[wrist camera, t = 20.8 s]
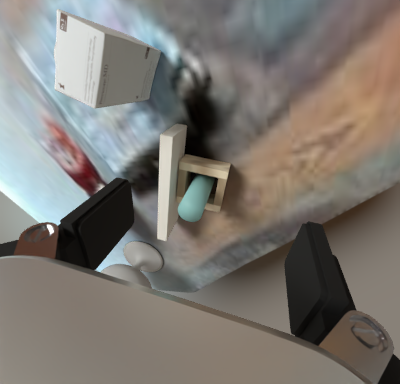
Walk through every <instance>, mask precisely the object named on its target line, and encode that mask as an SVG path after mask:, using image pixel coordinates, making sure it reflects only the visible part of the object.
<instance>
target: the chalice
mask: <svg viewBox="0 0 400 384" xmlns="http://www.w3.org/2000/svg"><path fill="white" fill-rule="evenodd" d="M123 252H124V256H125V258H126V260H127V261H128V262H129V263H130V264H131V265H132V266H129V265H124V264H115V265H111V266H108V267H106V268H105V269H103V270H102V271H101V273H104V274H107V275H110V276H113V277H116V278H120V279H123V280H126V281H129V282H132V283H135V284H139V285H142V286H145V287H148V288H151V289H152V287H151V284H150V282H149V280H148V279H147V277H146V276H145V275H144V274H143V273H142V272H141V271H145V272H155V271H158V270H160V269H161V267H162V265H163V259H162V256H161V255H160V253H159V252H158V251H157V250H156V249H155V248H154V247H152V246H150V245H149V244H146V243H144V242H140V241H133V242H129V243H127V244H126V245H125V247H124V250H123ZM140 270H141V271H140Z"/></svg>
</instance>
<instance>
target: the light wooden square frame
mask: <svg viewBox="0 0 400 384" xmlns="http://www.w3.org/2000/svg"><path fill="white" fill-rule="evenodd" d="M230 165H231V164H230V163H226V162H221V161H216V160H211V159H207V158H202V157H197V156H192V155H188V154H185V156H184V157H183V158H182V159H181V160H180V162H179V174H178V186H177V198H176V202H177V203H181V201H182V199H183V197H184V195H185V194H186V192H187V190H188V188H189V186H190V177H191V172H195V173H199V174H204V175H208V176H213V177H217V178H219V179H218V184H217V189H216V194H212V193H210V195H209V197H208V200H207V203H206V206H205V209H206V210H210V211H215V212H220V208H221V204H222V200H223V196H224V191H225V187H226V182H227V178H228V174H229V169H230Z"/></svg>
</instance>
